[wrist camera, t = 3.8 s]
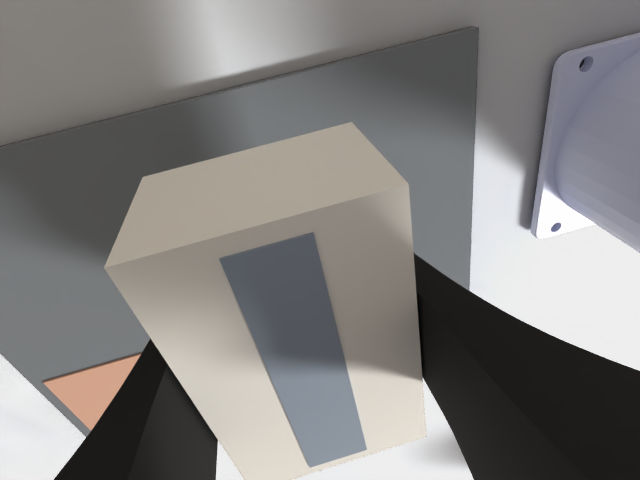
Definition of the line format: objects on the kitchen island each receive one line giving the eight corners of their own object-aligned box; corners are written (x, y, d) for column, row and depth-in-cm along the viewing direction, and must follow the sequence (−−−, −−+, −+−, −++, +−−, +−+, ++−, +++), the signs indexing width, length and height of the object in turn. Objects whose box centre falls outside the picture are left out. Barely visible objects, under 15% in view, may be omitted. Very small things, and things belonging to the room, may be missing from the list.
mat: (472, 26, 13) (480, 28, 12) (463, 354, 23) (467, 361, 22) (-155, 185, 12) (-170, 193, 11) (118, 459, 21) (116, 468, 21)
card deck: (351, 121, 9) (410, 185, 6) (384, 342, 14) (427, 438, 11) (142, 177, 9) (103, 269, 6) (246, 383, 14) (252, 493, 11)
